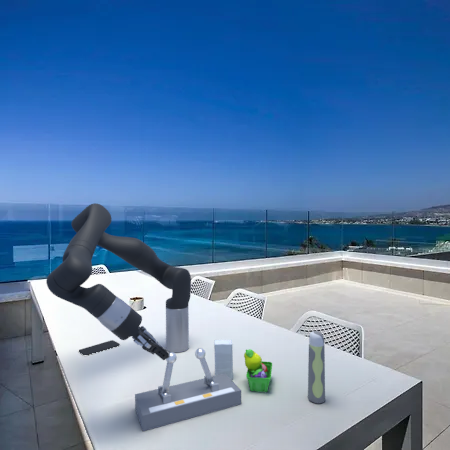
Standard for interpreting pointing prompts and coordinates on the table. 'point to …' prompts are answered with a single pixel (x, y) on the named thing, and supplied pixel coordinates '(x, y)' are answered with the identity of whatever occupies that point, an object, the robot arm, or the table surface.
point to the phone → (99, 347)
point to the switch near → (168, 373)
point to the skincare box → (223, 358)
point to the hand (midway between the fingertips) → (166, 356)
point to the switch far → (204, 365)
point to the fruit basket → (257, 371)
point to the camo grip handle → (316, 368)
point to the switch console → (185, 401)
